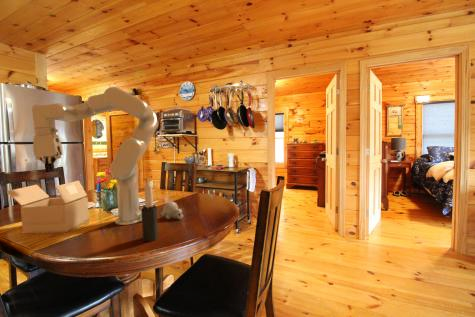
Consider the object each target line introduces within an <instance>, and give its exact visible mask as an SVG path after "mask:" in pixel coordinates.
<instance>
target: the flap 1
mask: <svg viewBox="0 0 475 317" xmlns="http://www.w3.org/2000/svg"><path fill="white" fill-rule="evenodd" d="M6 193H7V194H8V195H9V196H10V197H11V198H12V199H13V200H14V201H16V203H17V204H18V205H20V207H22V206H26V205H29V204H32V203H35V202H38V201H42V200H45V199H48V198H50V196H49V194H47V193H46V192H45V190H43V189H42V188H41V187H40V186H39V185H38V184H34V185H30V186H25V187H20V188H16V189H11V190H7V191H6Z"/></svg>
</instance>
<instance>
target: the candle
mask: <svg viewBox="0 0 475 317" xmlns="http://www.w3.org/2000/svg"><path fill="white" fill-rule="evenodd" d="M146 179H147V180H146V183H145V184H144V187H143V188H144V205H143V206H142V208H141V209H140V210H141V212H142V220H141V226H142V230H141V232H142V241H143V242H154V241H156V240H157V239H158V238H159V224H158V223H159V222H158V221H159V220H158V207H157V205H156V204H154V198H153V197H154V194H153V184H151V180H150V178H149V177H147V178H146Z"/></svg>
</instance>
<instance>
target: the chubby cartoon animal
mask: <svg viewBox="0 0 475 317" xmlns="http://www.w3.org/2000/svg"><path fill="white" fill-rule="evenodd" d="M182 210H183V208H179V206H178V204H177V203H176V202H175V201H173V200H169V201H167V202H165V204H164V205H163V210H162V211H161V213H160V216H162V217H165V219H166V220H171V219H172V218H177V219H178V220H182V219H183V218H184V214H183V211H182Z"/></svg>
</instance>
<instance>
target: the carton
mask: <svg viewBox="0 0 475 317" xmlns="http://www.w3.org/2000/svg"><path fill="white" fill-rule="evenodd" d="M88 202H89V199H88V196H87V197H86V196H84V197H82V198H79V199H76V200H74V201H71V202H68V203H66V204H64V202H63V200H62V198H61V197H48V198H45V199H42V200H39V201H36V202H32V203H29V204H26V205H23V206H20V213H21V214H20V216H21V225H22V234H23V233H36V234H57V233H59V234H60V233H61V234H62V233H65V234H66V233H69V232H71V231H73V230H74V229H76V228H78V227H80V226H82V225H84V224H85V223H87V222H89V221H90V213H89V212H90V211H89V209H88Z"/></svg>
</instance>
